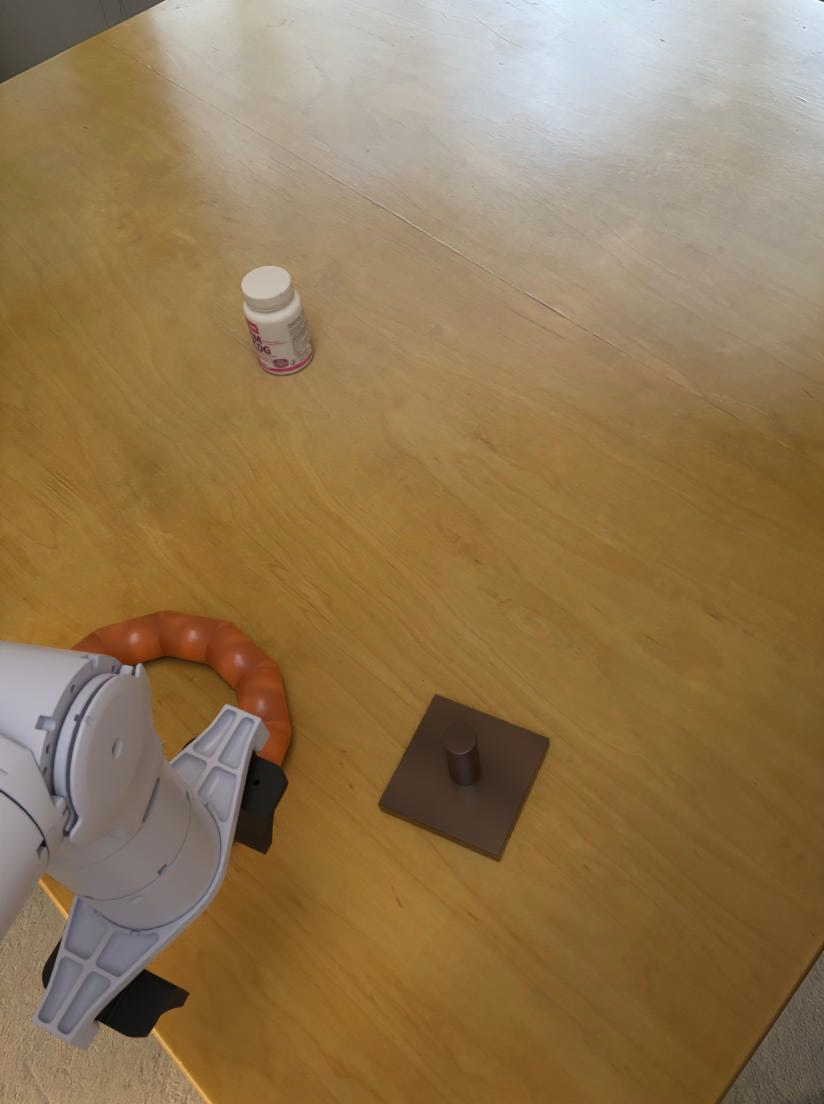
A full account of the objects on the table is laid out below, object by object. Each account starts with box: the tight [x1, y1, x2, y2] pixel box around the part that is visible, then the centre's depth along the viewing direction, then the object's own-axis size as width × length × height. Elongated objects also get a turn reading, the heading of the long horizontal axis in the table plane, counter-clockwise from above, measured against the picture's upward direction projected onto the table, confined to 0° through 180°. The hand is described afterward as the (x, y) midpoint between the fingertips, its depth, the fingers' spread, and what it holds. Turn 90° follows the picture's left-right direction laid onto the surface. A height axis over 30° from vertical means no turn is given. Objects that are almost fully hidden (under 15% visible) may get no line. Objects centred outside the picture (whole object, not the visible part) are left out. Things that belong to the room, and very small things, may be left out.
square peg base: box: [377, 693, 551, 862], centre depth 65 cm, size 8×8×6 cm
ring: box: [68, 609, 293, 768], centre depth 68 cm, size 18×18×3 cm
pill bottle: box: [240, 265, 314, 376], centre depth 88 cm, size 5×5×8 cm
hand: (212, 913), depth 53 cm, fingers open, 7 cm apart
